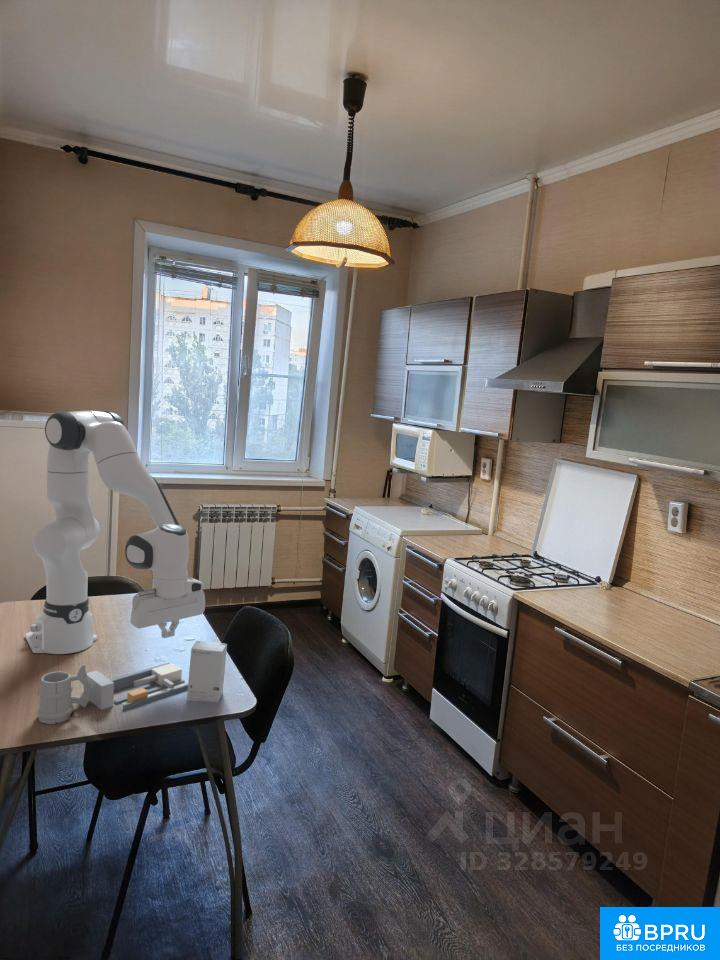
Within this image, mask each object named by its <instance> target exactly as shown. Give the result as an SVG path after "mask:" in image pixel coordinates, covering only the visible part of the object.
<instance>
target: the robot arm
mask: <svg viewBox="0 0 720 960" xmlns="http://www.w3.org/2000/svg"><path fill="white" fill-rule="evenodd" d="M44 433H45V438H46V440H47V442H48V443H49V446H48V451H47V459H46V461H47V462H46V497H47V499H48V501H49V502H50V503H51V504H52V507H53V509H54V512H55V513H54V514H55V520H54V521H51V522H49V523H47V524H45V525H44V526H43V527H41V528H40V529H39V530H37V532H35V534H34V536H33V538H32V539H33V540H32V548H33V550H34V552H35V554H36V556H38V557H39V558H40V559H41V560H42V564H43V567H44V570H45V577H46V598H45V599H44V600H45V601H44V603H43V609H42V612H41V613H40V614H39V615H38V616H36V617H35V618H34V621H33V624H30V627H29V628H30V631H29V632H26V633H25V635H24V639H25V640H26V643H27V644H28V646H29V647H30V650H31V651H32V653H34V654H51V655H67V654H68V655H69V654H73V653H79V652H82V651H85V650H86V649H89V648H90V647H92V645H93V643H94V642H95V641H97V640H98V635H97V634H95V633H94V619H93V618H94V616H93V614H92V613H91V612H90V611H89V608H90V599H89V597H88V583H89V582H88V581H89V580H88V579H89V578H88V577H89V574H88V572H87V571H86V569H84V567H83V563H82V560H81V552H82V551H84V550H85V549H88V548H89V547H90V546H92V545H93V544H94V543H95V542H96V541H97V539H98V538H99V536H100V534H101V527H100V523H99V521H98V520H97V519H96V517H94V514H93V513H94V512H93V509H92V506H91V501H90V484H89V481H90V479H89V477H90V476H89V475H90V473H89V468H90V467H89V456H90V453H91V452H92V454H93V458H94V463H95V465H96V467H97V470H98V473H99V476H100V479H101V481H102V482H103V484H104V486H106V488H108V489H110V490H111V491H112V492H116V493H118V494H122V495H125V496H129V497H132V498H134V499H136V500H138V501H140V502H141V503H142V504H144V506H145V507H146V510H147V511H148V513H149V515H150V517H151V519H152V522H153V523H154V526H155V528H154V529H152V530H149V531H146V532H140V533H136V534H134V535H131V536H130V537H129V538H128V539H127V540H126V543H125V547H124V554H125V559H126V561H127V562H128V565H130V566H131V567H133V569H136V570H152V572H153V574H152V588H150V589H147V590H142V591H138V592H137V593H136V594H135V595H134V596H133V597H132V606H131V607H132V608H131V613H130V624H131V625H132V626H133V627H135V628H136V629H143V628H148V627H151V626H158V628H159V629H160V631H161V637H162V638H163V639H167V638H171V637H175V635H176V629H177V628H178V626H179V625H180V620H182V619H188V618H192V617H197V616H200V615H202V614H204V612H205V610H206V594H205V591H204V589H205V583H204V582H202V581H200V580H198V579H196V578H193V577H189V573H188V563H189V560H190V539H189V534H188V531H187V529H186V528H185V527H184V526H182V525H180V523H179V522H178V519H177V517H176V515H175V514H174V512H173V509H172V507H171V505H170V503H169V501H168V500H167V497H166V495H165V493H164V492H163V489H162V488H161V486H160V484H159V482H158V481H157V479H156V478H155V477H154V476H152V475H151V474H150V473H149V471H148V470H147V469H146V468H145V466H144V464H143V463H142V461H141V458H140V456H139V454H138V451H137V448H136V445H135V443H134V441H133V439H132V437H131V435H130V433H129V431H128V430H127V428H126V427H125V423H124V420H123V419H122V417H121V416H120V415H119V414H117V413H115V412H110V411H107V410H106V411H99V410H89V409H88V410H86V409H85V410H76V411H67V410H66V411H65V410H64V411H58V412H56V413H52V414H51V415H50V416H49V417H48V418H47V420H46V423H45V426H44ZM168 623H171V624H170V625H169V627H168V628H166V627H167V625H168Z"/></svg>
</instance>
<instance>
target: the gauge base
mask: <svg viewBox="0 0 720 960" xmlns="http://www.w3.org/2000/svg"><path fill="white" fill-rule="evenodd" d="M167 664H171V663H170V662H166V663H163V664H160V665H156V666H152V667H149V668H145V669H142V670H137V671H135V672H131V673H127V674H124V675H120V676H118V677H113V678H108V677H106V676H105V675H104V674H103V673H101V672H100V671H98V670H97V669H96V670H93V671H90V672H87V675H88V678H89V680H90V683H91V686H92V692H91V699H90V701H89V702H90V703H92V704H93V705H95V706H96V707H97V708H98V709H99V710H101V711H103V710H105V709H109V708H111V707H114V703H115V704H116V705H118V704H121V705H122V710H123V711H126V710H130V709H131V708H135V707H138V706H141V705H144V704H148V703H149V702H150V703H151V702H153V701H157V700H159V699H162V698H166V697H169V696H170V695H171V696H172V695H174V694H178V693H181V692H184V691H188V683H186V684H185V682H186V681H185V680H184V679H183V678H181V680H178V681H175V682H172V683H174V688H173V689H170V688H168V687H167V686H165V685H162V686H160V685H159V686H155V687H153V688H149V689H146V690H147V691H148V697H145V698H142V699H139V700H136V701H133V702H130V703H129V702H128V701H127V696H124V697H120V698H117V699H114V695H115V693H114V692H115V691H117V690H120V689H124V688H128V687H132V686H134V681H136V680H139V679H142V678H146V677H149V676H151V673H152V669H153V668H157V667H160V666H164V665H167Z"/></svg>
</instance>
